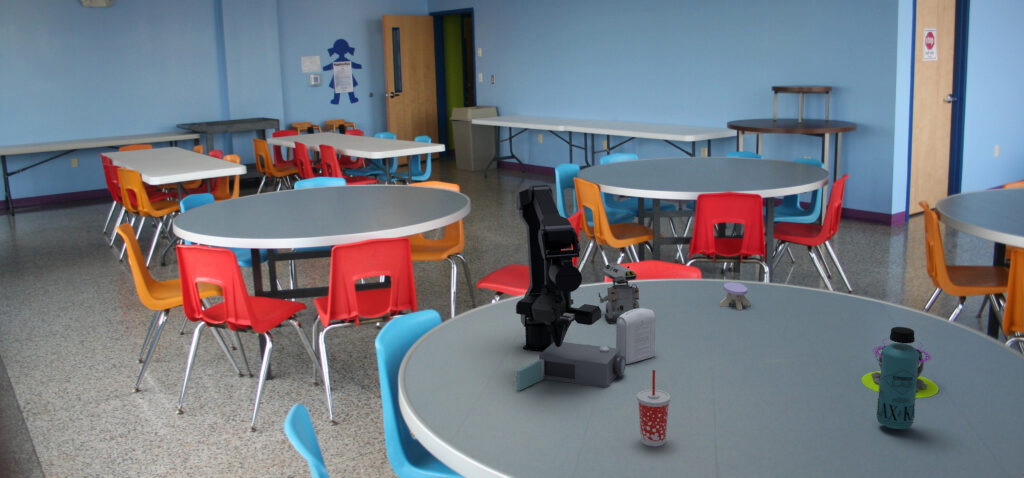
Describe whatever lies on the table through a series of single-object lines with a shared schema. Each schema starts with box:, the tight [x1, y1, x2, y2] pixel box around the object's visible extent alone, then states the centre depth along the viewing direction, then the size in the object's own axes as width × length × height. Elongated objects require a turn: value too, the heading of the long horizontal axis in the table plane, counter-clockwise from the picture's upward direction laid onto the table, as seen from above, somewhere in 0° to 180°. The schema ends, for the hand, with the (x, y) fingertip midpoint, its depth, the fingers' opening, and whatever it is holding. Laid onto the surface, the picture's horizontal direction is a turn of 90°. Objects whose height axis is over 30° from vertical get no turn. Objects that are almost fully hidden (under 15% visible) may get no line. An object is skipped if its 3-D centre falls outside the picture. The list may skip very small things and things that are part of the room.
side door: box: [515, 358, 545, 391], centre depth 178 cm, size 9×1×5 cm, turn 138°
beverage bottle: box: [876, 326, 919, 430], centre depth 150 cm, size 6×7×20 cm
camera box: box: [538, 341, 627, 388], centre depth 183 cm, size 18×10×6 cm, turn 65°
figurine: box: [598, 262, 640, 324], centre depth 222 cm, size 9×12×15 cm
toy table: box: [719, 281, 752, 311], centre depth 231 cm, size 10×9×6 cm
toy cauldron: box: [861, 337, 939, 399], centre depth 172 cm, size 15×15×11 cm
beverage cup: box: [636, 369, 671, 447], centre depth 149 cm, size 6×6×14 cm
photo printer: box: [615, 307, 656, 365], centre depth 191 cm, size 10×4×12 cm, turn 123°
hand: (558, 346), depth 180 cm, fingers closed
